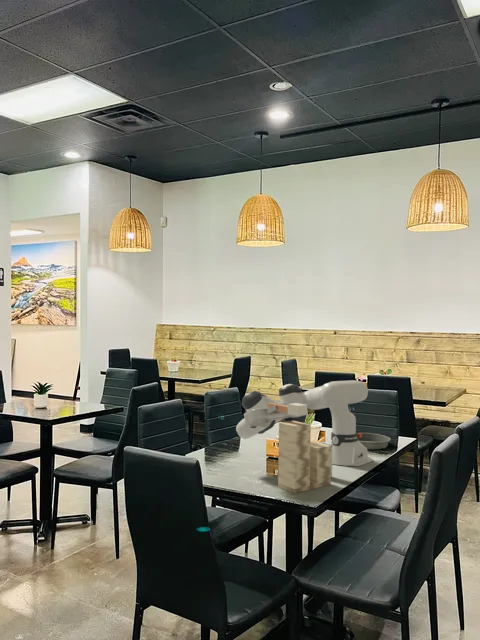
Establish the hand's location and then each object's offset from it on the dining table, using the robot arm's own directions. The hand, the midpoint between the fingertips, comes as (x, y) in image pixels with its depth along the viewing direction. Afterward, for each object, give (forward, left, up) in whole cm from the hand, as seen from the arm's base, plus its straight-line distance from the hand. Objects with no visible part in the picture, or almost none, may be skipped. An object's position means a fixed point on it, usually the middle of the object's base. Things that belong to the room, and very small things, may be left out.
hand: (279, 406), depth 235 cm
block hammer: (0, +4, -2) cm, 5 cm away
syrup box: (-22, +4, -32) cm, 39 cm away
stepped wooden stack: (-6, +9, -32) cm, 33 cm away
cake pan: (-88, -27, -32) cm, 97 cm away
